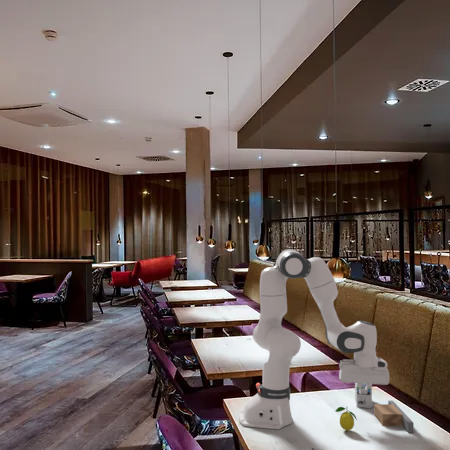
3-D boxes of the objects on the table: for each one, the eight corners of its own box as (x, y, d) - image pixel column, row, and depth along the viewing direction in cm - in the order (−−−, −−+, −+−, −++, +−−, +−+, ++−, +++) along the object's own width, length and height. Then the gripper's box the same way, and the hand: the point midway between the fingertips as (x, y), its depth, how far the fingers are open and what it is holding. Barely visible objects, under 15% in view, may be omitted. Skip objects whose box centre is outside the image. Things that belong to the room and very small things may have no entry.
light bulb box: (372, 408, 197) (372, 384, 198) (356, 407, 199) (356, 383, 199) (369, 399, 208) (369, 376, 208) (354, 398, 209) (354, 375, 209)
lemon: (335, 428, 178) (335, 403, 178) (347, 426, 180) (347, 401, 180) (345, 436, 171) (345, 410, 171) (357, 433, 173) (358, 408, 173)
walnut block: (382, 426, 180) (382, 414, 180) (374, 416, 190) (374, 404, 190) (402, 426, 180) (402, 414, 180) (393, 416, 190) (393, 404, 190)
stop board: (408, 432, 174) (408, 422, 174) (388, 409, 196) (388, 400, 196) (413, 432, 174) (413, 422, 174) (392, 409, 196) (392, 400, 196)
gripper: (341, 360, 183) (340, 394, 182) (391, 363, 182) (390, 397, 182) (338, 356, 189) (336, 389, 189) (386, 359, 189) (384, 392, 188)
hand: (363, 393), depth 185 cm, fingers closed
